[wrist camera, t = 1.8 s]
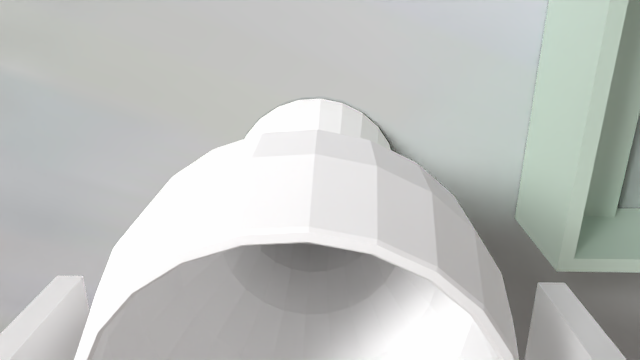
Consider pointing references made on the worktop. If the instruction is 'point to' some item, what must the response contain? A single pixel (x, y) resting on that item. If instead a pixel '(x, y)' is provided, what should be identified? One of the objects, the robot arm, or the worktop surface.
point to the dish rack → (583, 138)
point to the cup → (302, 256)
